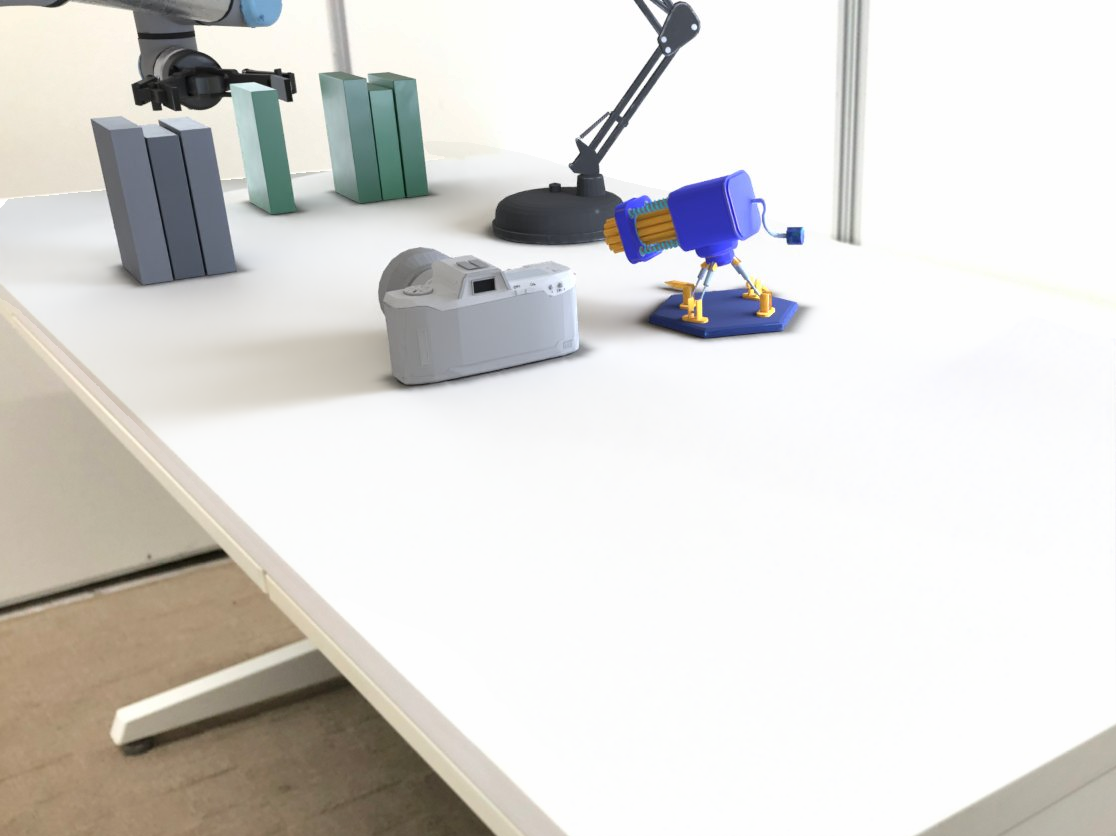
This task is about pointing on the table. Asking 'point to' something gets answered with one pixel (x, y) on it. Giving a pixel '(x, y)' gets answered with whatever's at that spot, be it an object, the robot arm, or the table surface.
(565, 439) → the table surface
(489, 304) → the digital camera
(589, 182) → the desk lamp
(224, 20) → the robot arm
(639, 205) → the toy gatling gun
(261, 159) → the green book
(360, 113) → the green books
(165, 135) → the grey books
